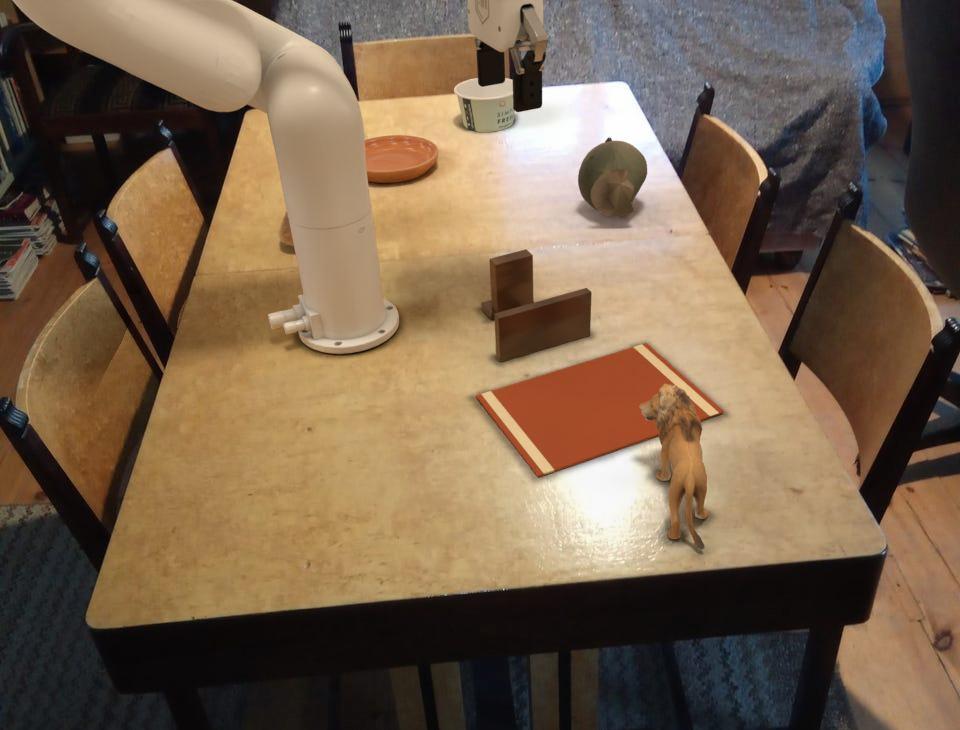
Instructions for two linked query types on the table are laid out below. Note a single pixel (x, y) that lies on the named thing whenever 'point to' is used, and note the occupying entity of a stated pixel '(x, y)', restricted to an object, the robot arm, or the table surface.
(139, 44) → the robot arm
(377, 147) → the saucer
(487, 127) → the food container
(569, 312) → the rod with end plates
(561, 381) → the towel
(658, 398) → the lion figurine
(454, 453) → the table surface
